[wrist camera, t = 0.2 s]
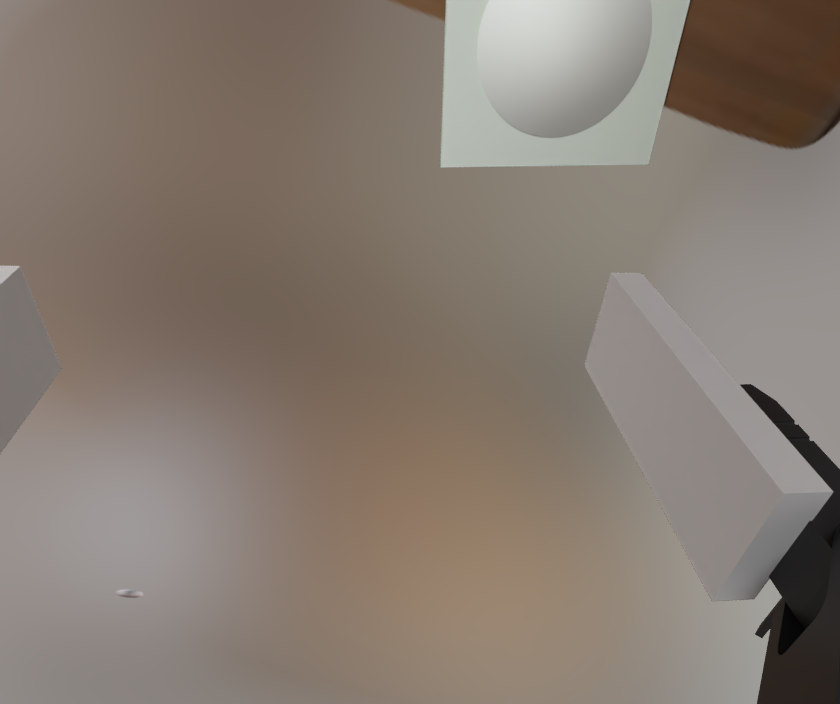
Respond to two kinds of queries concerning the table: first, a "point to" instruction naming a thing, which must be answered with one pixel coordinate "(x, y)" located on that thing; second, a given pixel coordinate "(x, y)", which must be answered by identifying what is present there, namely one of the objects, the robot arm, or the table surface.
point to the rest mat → (556, 80)
